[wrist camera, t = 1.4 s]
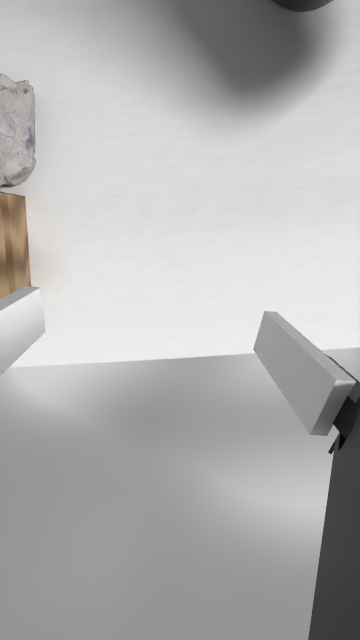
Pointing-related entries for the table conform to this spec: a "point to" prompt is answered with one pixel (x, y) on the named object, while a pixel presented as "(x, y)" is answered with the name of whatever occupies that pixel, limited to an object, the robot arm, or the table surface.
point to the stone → (16, 131)
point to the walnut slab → (13, 244)
